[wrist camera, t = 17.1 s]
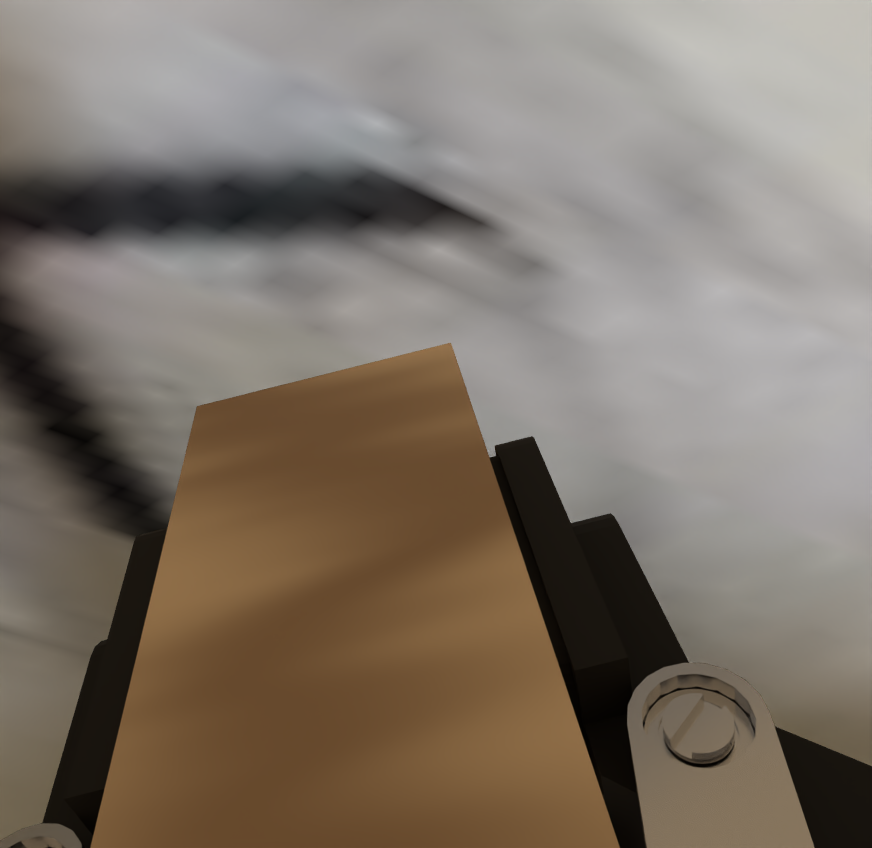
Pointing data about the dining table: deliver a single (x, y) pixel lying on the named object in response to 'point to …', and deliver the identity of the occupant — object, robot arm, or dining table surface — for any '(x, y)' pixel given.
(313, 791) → the tan block with rod
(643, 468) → the dining table surface
